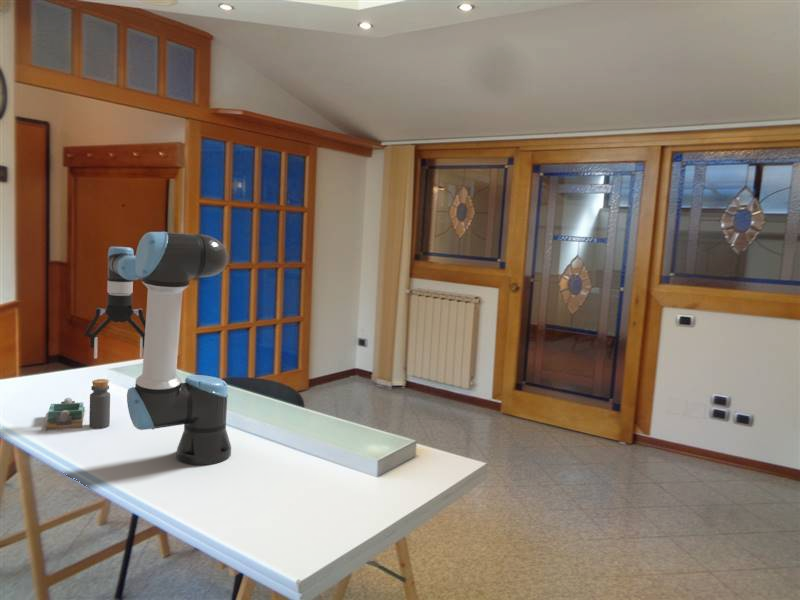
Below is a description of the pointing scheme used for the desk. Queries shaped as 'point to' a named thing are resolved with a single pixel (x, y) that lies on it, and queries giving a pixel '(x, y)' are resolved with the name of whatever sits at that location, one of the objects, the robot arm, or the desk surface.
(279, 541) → the desk surface
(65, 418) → the block
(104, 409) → the bottle
